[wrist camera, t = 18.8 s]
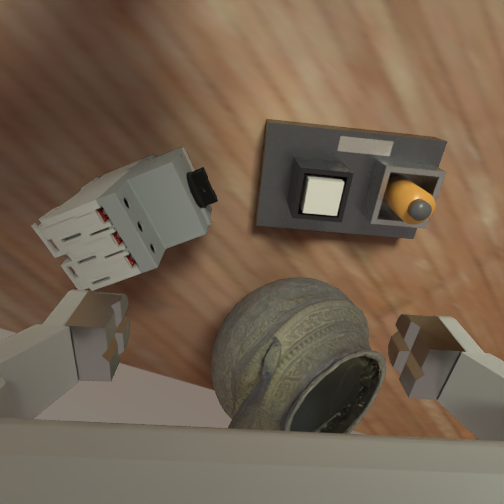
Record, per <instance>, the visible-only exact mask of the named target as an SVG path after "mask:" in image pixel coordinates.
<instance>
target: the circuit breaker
mask: <svg viewBox="0 0 504 504" xmlns="http://www.w3.org/2000/svg"><path fill="white" fill-rule="evenodd" d="M217 201H218V200H217V196H216V194H215V192H214V190H213V189H212V187H211V185H210V182H209V180H208V176H207V174H206V172H205V169H204V167H203V168H200V169H198V170H194V167H193V165H192V163H191V161H190V159H189V157H188V154H187V152H186V150H185V148H184V146H183V147H180V148H178V149H175V150H173V151H170V152H168V153H165V154H163V155H161V156H158V157H156V155H155V154H153V155H150V156H148V157H146V158H143V159H141V160H138V161H136V162H133V163H131V164H128V165H126V166H123V167H121V168H119V169H116V170H114V171H111V172H109V173H106V174H104V175H103V176H102V177H100V178H99V177H96V178H94V180H93V181H90V182H89V183H88V184H86V185H85V186H83V187H82V188H81V189H80V192H79V193H77V194H76V195H75V196H73V197H72V198H70V199H69V200H68V201H66V202H65V203H64V204H62V205H61V206H59V207H56V208H54V209H52V210H50V211H49V212H48V213H46V214H45V215H44V216H42V217H41V218H40V219H39V221H40V222H41V224H40V225H37V224H36V223H34V224H32V225H31V226H32V227H33V229H34V230H35V232H36V233H37V234H38V236H39V237H40V238H41V240H42V241H43V242H44V244H45V245H46V247H47V248H48V249H49V251H50V252H51V253H52V255H53V256H54V257H55V258H56V257H59V256H62V255H64V254H65V255H66V256H67V258H66V259H65V261H64V262H63V263H62V264H61V267H62V268H63V270H64V271H65V272H66V274H67V275H68V277H69V278H70V279H71V281H72V282H73V283H74V285H75V286H76V287H77V289H78V290H85V289H88V288H90V289H91V291H93V290H96V289H99V288H102V287H105V286H107V285H110V284H113V283H116V282H119V281H121V280H124V279H127V278H130V277H133V276H135V275H138V274H141V273H144V272H147V271H150V270H152V269H155V268H157V267H158V266H159V263H160V261H161V259H162V256H163V254H164V252H165V249H167V248H169V247H172V246H175V245H178V244H180V243H183V242H186V241H189V240H191V239H194V238H197V237H199V236H202V235H205V234H206V233H207V229H208V225H210V224H211V223H212V221H211V219H210V215H211V210H212V207H211V205H210V204H212V203H215V202H217ZM50 239H52V241H53V242H54V243H55V245H56V246H57V247H56V248H54V246H53V245H52V243H51V242H50V241H49V240H50ZM69 267H72V268H73V270H74V271H75V274H73V273H72V271H71V270H70V268H69Z"/></svg>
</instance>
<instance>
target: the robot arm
mask: <svg viewBox="0 0 504 504" xmlns="http://www.w3.org/2000/svg"><path fill="white" fill-rule="evenodd" d="M127 308H128V297H127V295H126V294H120V293H109V292H98V291H87V290H70V291H68V293H67V294H66V295H65V296H64V298H63V299H62V300H61V301H60V302H59V304H58V305H57V306H56V307H55V309H54V310H53V311H52V312H51V314H50V315H49V316H48V317H47V319H46V320H45V321H44V322H43V324H42V325H39V324H36V325H33V326H31V327H29V328H27V329H25V330H23V331H21V332H19V333H16V334H14V335H12V336H10V337H8V338H6V339H4V340H2V341H0V504H504V361H502V360H500V359H498V358H497V357H495V356H493V355H491V354H487V353H484V352H483V351H482V350H481V348H480V347H479V346H478V345H477V344H476V343H475V341H474V340H473V339H472V338H471V337H470V336H469V335H468V333H467V332H466V331H465V330H464V329H463V328H462V326H461V325H460V324H459V323H458V322H457V321H456V320H455V319H454V318H452V317H450V316H422V315H406V314H401V315H400V316H399V318H398V319H397V322H396V327H397V329H398V331H397V332H396V333H395V334H394V335H392V336H391V338H390V342H389V345H388V355H389V359H390V362H391V364H392V366H393V368H395V369H396V370H397V371H398V372H400V373H401V375H400V378H399V380H400V382H401V384H402V386H403V388H404V390H405V392H406V393H407V395H408V397H409V398H419V399H431V400H438V401H437V402H439V403H440V404H441V405H442V406H443V407H444V408H445V409H446V410H447V411H448V412H450V413H451V414H452V415H453V416H454V417H455V418H456V419H457V420H458V421H459V422H461V423H462V424H463V425H464V426H465V427H466V428H467V429H468V430H469V431H470V432H472V433H473V434H474V435H475V436H476V437H477V438H478V439H479V440H465V439H442V438H422V437H401V436H381V435H359V434H340V433H318V432H296V431H274V430H252V429H231V428H209V427H187V426H165V425H144V424H123V423H101V422H79V421H58V420H57V421H56V420H37V419H34V418H35V417H36V416H37V415H39V414H40V413H41V412H42V411H43V410H45V409H46V408H47V407H48V406H50V405H51V404H52V403H53V402H55V401H56V400H57V399H58V398H59V397H61V396H62V395H63V394H64V393H66V392H67V391H68V390H69V389H71V388H72V387H73V386H74V385H75V384H77V383H78V380H82V381H111V380H112V378H113V376H114V373H115V371H116V369H117V367H118V364H119V354H121V353H122V352H123V351H124V350H125V348H126V345H127V342H128V337H129V330H130V321H129V318H128V317H127V316H126V315H125V313H126V311H127Z"/></svg>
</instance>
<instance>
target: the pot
mask: <svg viewBox="0 0 504 504" xmlns="http://www.w3.org/2000/svg"><path fill="white" fill-rule="evenodd" d="M368 337H369V332H368V325H367V321H366V318H365V316H364V314H363V312H362V310H360V309H359V308H358V307H357V306H356V305H355V304H354V303H352V302H351V301H350V300H349V298H348V297H347V296H346V295H345V294H344V293H343V292H341V291H340V290H339V289H337V288H335V287H333V286H331V285H329V284H327V283H325V282H322V281H319V280H316V279H311V278H288V279H281V280H277V281H274V282H272V283H269V284H266V285H264V286H262V287H260V288H258V289H256V290H254V291H253V292H251V293H250V294H249V295H247V296H246V297H244V298H243V299H242V300H241V301H240V302H239V303H238V304H237V305H236V306H235V307H234V308H233V310H232V311H231V312H230V313H229V315H228V316H227V317H226V318H225V320H224V322H223V324H222V326H221V328H220V330H219V332H218V334H217V337H216V340H215V342H214V345H213V349H212V360H211V376H212V382H213V387H214V390H215V392H216V395H217V398H218V400H219V402H220V404H221V406H222V408H223V409H224V411H225V412H226V413H227V414H228V415H229V417H231V419H232V421H231V423H230V425H229V427H228V428H231V429H252V430H274V431H296V432H318V433H340V434H350V433H351V432H352V431H353V429H354V428H355V427H356V426H357V424H358V423H359V422H360V420H361V419H362V418H363V416H364V415H365V414H366V413H367V411H368V410H369V408H370V406H371V405H372V404H373V402H374V401H375V399H376V396H377V394H378V392H379V390H380V388H381V385H382V383H383V380H384V378H385V374H386V359H385V358H384V357H383V356H382V355H381V354H380V353H378V352H376V351H372V350H371V348H370V346H369V341H368ZM376 366H377V368H376ZM379 369H380V371H379ZM359 405H361V406H359Z"/></svg>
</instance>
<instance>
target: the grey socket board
mask: <svg viewBox="0 0 504 504" xmlns="http://www.w3.org/2000/svg"><path fill="white" fill-rule="evenodd" d="M446 143H447V141H444V140H441V139H439V138H436V137H430V136H421V135H411V134H402V133H393V132H383V131H374V130H365V129H355V128H346V127H337V126H327V125H318V124H309V123H299V122H290V121H281V120H271V119H267V120H266V129H265V138H264V146H263V155H262V164H261V172H260V181H259V190H258V199H257V207H256V216H255V217H256V226H267V227H279V228H291V229H302V230H314V231H326V232H337V233H349V234H361V235H372V236H384V237H396V238H407V239H413V238H414V236H415V233H416V230H417V228H426V227H427V225H428V222H429V219H430V217H429V218H428V219H427V220H426V221H424V222H422V223H420V224H415V225H412V224H408V223H406V222H404V221H403V220H402V219H401V218H400V217H399V216H398V215H397V214H396V213H395V212H394V211H393V210H392V209H390V208H389V207H388V206H387V205H386V204H385V203H384V202H383V201H382V200H383V197H384V193H385V190H386V186H387V183H388V179H389V178H391V177H394V176H403V177H405V178H407V179H408V180H410V181H411V182H413V183H414V184H416V185H417V186H419V187H420V188H422V189H423V190H425V191H426V192H428V193H429V194H431V195H432V196H433V198H434V200H435V202H436V200H437V197H438V194H439V191H440V189H441V186H442V183H443V180H444V177H445V175H446V171H444V170H442V169H440V168H438V166H439V164H440V161H441V158H442V155H443V152H444V149H445V146H446ZM305 173H310V174H320V175H330V176H339V177H340V178H341V179H342V180H343V181H344V187H343V191H342V195H341V200H340V204H339V208H338V213H337V216H331V215H320V214H309V213H303V212H302V210H301V208H300V205H299V203H300V197H301V192H302V186H303V180H304V174H305Z"/></svg>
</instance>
